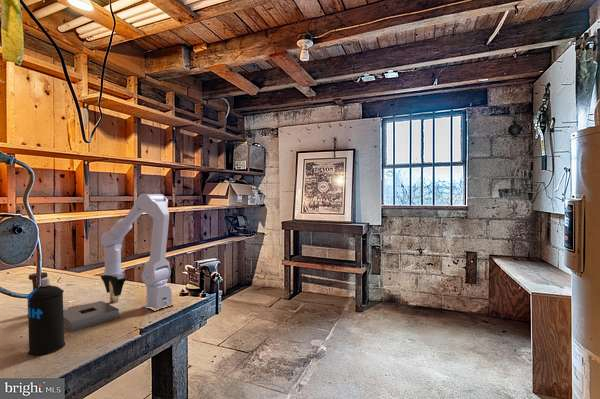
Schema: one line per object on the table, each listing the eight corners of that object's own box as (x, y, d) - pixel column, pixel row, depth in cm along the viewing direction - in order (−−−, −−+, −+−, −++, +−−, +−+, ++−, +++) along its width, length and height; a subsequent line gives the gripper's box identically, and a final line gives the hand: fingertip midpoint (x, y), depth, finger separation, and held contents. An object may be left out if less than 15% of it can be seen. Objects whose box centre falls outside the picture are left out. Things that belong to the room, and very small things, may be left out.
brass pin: (119, 301, 127) (119, 280, 127) (111, 303, 125) (111, 281, 125) (116, 300, 129) (115, 279, 129) (108, 302, 126) (108, 280, 126)
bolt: (36, 317, 112) (35, 276, 112) (25, 316, 113) (24, 275, 113) (52, 311, 118) (51, 272, 118) (41, 310, 119) (40, 271, 119)
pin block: (118, 317, 110) (118, 309, 110) (71, 331, 99) (71, 322, 99) (101, 308, 120) (101, 300, 119) (56, 320, 108) (56, 311, 108)
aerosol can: (61, 339, 93) (59, 273, 93) (69, 347, 88) (67, 277, 88) (25, 350, 87) (22, 279, 87) (31, 359, 82) (29, 284, 81)
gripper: (131, 261, 125) (131, 294, 125) (116, 257, 134) (116, 288, 134) (112, 264, 120) (112, 299, 120) (97, 260, 129) (98, 292, 129)
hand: (113, 293), depth 127 cm, fingers open, 7 cm apart
